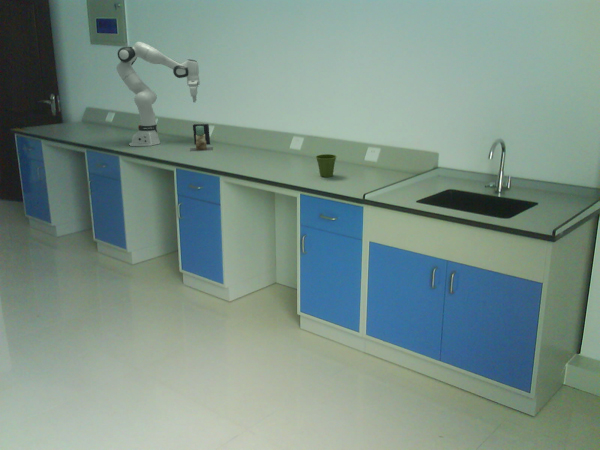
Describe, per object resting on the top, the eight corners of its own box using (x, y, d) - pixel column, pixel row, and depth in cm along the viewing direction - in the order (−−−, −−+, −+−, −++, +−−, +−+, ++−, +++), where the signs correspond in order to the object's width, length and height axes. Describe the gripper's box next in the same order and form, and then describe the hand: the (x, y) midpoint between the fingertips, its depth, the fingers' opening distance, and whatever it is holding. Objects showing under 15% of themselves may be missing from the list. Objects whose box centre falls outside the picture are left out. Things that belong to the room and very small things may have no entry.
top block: (196, 143, 419) (195, 135, 417) (196, 141, 425) (196, 134, 423) (205, 142, 420) (204, 135, 418) (205, 141, 425) (204, 134, 424)
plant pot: (312, 175, 344) (311, 155, 340) (329, 172, 349) (329, 153, 346) (323, 179, 334) (323, 159, 330) (340, 176, 339) (340, 156, 336)
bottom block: (196, 150, 420) (195, 143, 418) (196, 148, 427) (196, 141, 425) (206, 149, 421) (205, 142, 419) (206, 147, 427) (206, 141, 426)
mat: (189, 152, 417) (189, 151, 417) (190, 148, 429) (190, 148, 428) (212, 150, 419) (212, 150, 419) (213, 147, 430) (213, 147, 430)
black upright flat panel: (210, 144, 444) (208, 123, 439) (209, 145, 440) (207, 124, 435) (195, 144, 445) (194, 123, 441) (194, 145, 441) (192, 124, 437)
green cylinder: (196, 135, 418) (195, 127, 416) (196, 134, 423) (195, 126, 421) (204, 135, 418) (203, 126, 416) (204, 134, 423) (203, 125, 422)
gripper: (190, 81, 449) (191, 100, 453) (188, 83, 430) (189, 103, 434) (198, 81, 450) (199, 99, 454) (197, 83, 430) (198, 103, 435)
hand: (194, 101), depth 444 cm, fingers open, 8 cm apart
